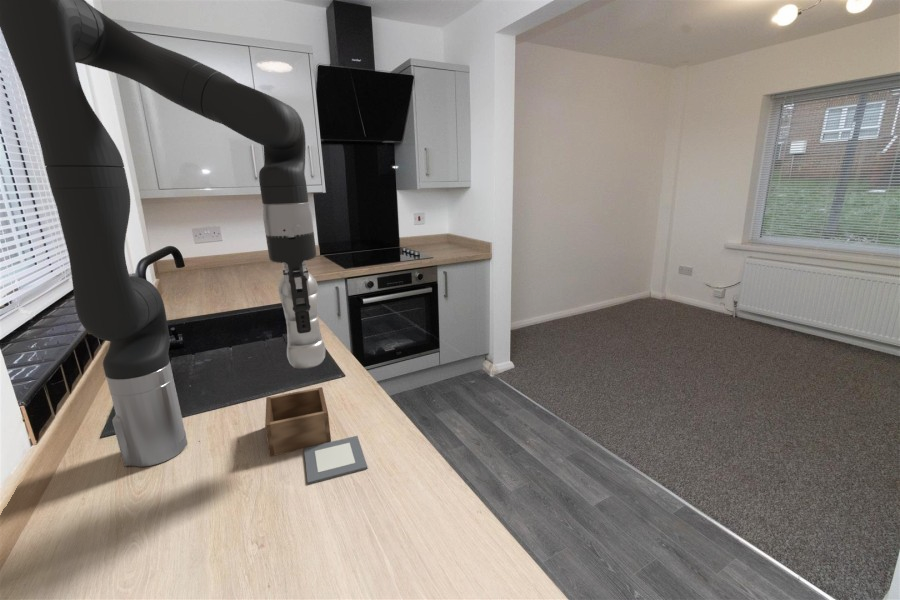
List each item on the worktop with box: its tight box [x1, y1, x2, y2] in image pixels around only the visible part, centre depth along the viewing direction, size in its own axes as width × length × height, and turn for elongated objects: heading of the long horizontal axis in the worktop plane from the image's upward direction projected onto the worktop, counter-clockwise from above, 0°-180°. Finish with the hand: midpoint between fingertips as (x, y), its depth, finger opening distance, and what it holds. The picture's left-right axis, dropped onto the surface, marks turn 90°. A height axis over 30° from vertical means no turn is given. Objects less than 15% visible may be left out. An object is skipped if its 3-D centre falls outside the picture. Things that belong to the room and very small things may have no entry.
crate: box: [264, 386, 332, 457], centre depth 82 cm, size 11×11×6 cm
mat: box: [303, 435, 369, 485], centre depth 75 cm, size 10×10×1 cm
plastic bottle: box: [277, 260, 326, 370], centre depth 72 cm, size 6×7×20 cm
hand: (302, 326), depth 73 cm, fingers closed on plastic bottle, 6 cm apart
